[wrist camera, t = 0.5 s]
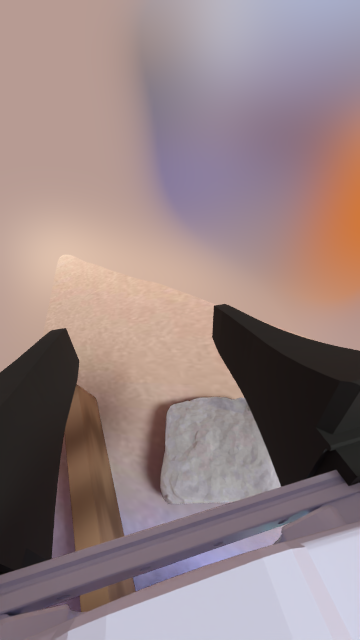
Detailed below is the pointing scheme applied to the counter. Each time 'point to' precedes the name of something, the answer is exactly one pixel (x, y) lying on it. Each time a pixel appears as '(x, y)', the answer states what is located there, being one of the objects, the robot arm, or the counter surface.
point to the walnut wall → (92, 490)
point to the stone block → (214, 453)
